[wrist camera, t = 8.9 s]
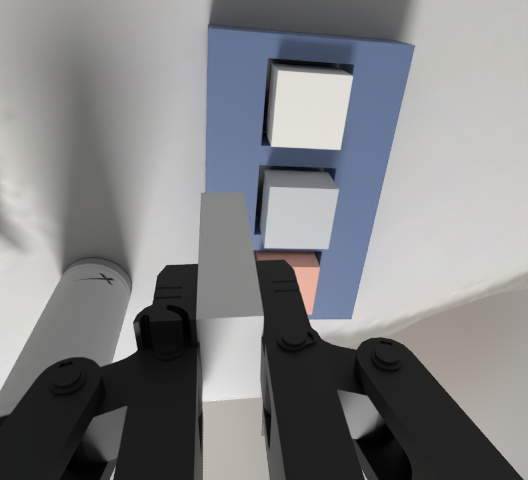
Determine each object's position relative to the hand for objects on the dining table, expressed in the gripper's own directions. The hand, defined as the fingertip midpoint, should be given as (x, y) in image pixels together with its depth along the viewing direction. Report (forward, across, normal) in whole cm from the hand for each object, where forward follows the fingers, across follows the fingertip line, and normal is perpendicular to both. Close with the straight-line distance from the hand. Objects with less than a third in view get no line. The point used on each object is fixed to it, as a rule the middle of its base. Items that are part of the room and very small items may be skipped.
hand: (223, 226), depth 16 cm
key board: (+20, +6, -7) cm, 22 cm away
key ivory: (+19, +6, 0) cm, 20 cm away
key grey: (+17, +6, -7) cm, 20 cm away
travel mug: (+20, -12, -17) cm, 29 cm away
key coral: (+18, +5, -15) cm, 24 cm away
